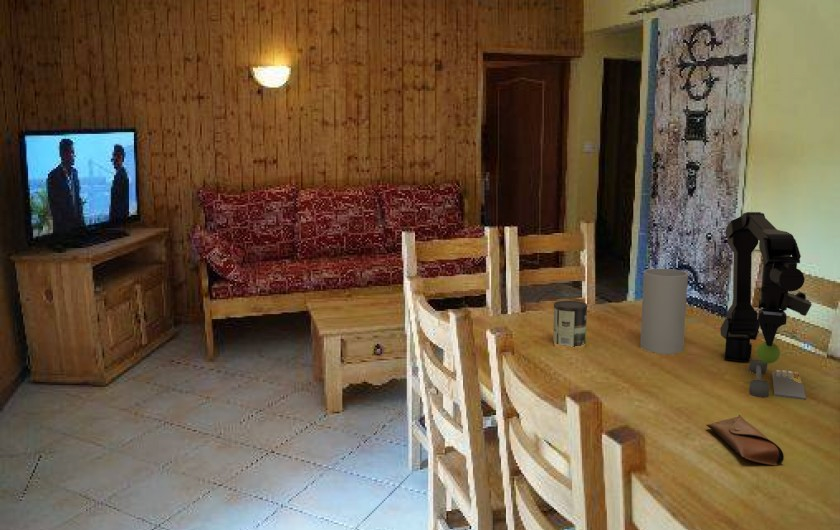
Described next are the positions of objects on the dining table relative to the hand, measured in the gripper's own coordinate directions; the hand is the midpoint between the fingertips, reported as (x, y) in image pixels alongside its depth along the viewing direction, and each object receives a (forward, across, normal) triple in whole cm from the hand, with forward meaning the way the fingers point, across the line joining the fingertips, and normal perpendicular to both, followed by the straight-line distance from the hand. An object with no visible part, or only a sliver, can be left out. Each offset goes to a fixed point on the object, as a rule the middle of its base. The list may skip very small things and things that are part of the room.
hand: (769, 342), depth 178 cm
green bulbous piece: (+6, +1, 0) cm, 6 cm away
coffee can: (+13, +17, +56) cm, 60 cm away
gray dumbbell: (+13, +4, +2) cm, 14 cm away
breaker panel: (+13, +4, -5) cm, 15 cm away
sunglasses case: (+14, -40, +6) cm, 42 cm away
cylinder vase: (+13, +24, +29) cm, 40 cm away
